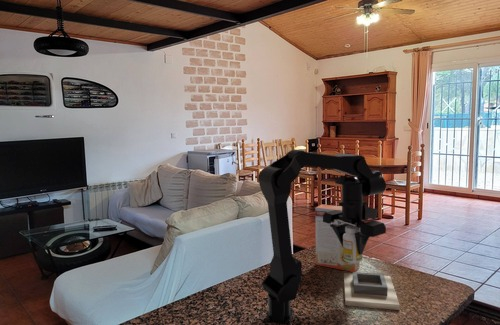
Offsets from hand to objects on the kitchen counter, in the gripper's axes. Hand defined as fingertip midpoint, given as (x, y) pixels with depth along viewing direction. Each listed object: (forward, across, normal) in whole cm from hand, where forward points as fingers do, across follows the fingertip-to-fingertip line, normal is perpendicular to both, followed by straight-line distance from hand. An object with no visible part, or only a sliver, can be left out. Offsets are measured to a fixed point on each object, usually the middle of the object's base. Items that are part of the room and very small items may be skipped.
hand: (352, 251), depth 107 cm
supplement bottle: (+3, 0, 0) cm, 3 cm away
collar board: (+13, -2, -5) cm, 14 cm away
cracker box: (+14, +17, -11) cm, 24 cm away
